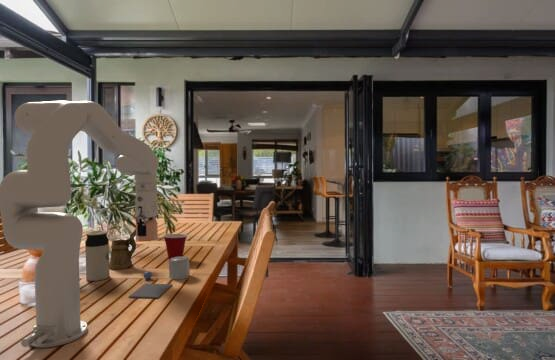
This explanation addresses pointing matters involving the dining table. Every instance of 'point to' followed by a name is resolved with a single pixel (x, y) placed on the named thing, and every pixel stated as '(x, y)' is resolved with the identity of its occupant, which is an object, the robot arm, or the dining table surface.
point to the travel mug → (97, 255)
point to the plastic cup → (175, 244)
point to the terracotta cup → (149, 231)
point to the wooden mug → (122, 253)
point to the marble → (147, 275)
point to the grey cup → (179, 267)
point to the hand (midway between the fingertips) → (146, 233)
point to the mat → (150, 291)
